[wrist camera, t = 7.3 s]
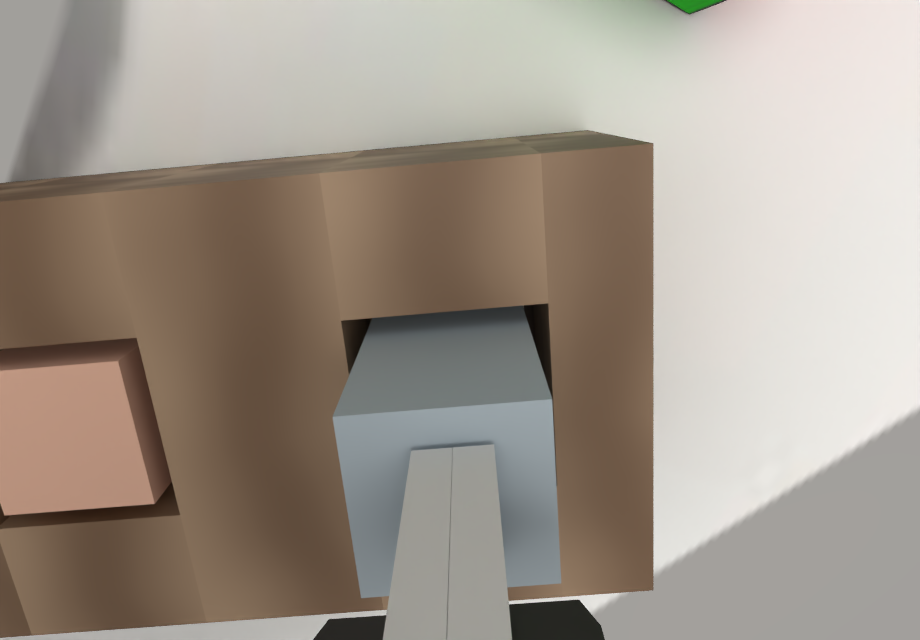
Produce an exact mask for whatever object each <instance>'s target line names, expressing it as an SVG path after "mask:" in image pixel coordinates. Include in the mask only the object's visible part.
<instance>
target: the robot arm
mask: <svg viewBox="0 0 920 640" xmlns="http://www.w3.org/2000/svg"><path fill="white" fill-rule="evenodd" d="M313 640H605V639H604V635H603V632H602V628H601V625H600V624H599V623H598V622H597V621H596V619H595V618H594V617H593V616H592V615H591V613H590V612H589V611H588V610H587V609H586V608H585V606H584V605H583V604H582V603H581V602H580V600H568V601H553V602H539V603H524V604H510V605H509V601H508V590H507V579H506V568H505V557H504V546H503V536H502V525H501V514H500V503H499V492H498V481H497V470H496V460H495V449H494V444H492V445H479V446H466V447H453V449H452V448H439V449H426V450H413V451H411V455H410V461H409V468H408V475H407V481H406V488H405V495H404V501H403V508H402V515H401V521H400V528H399V535H398V541H397V548H396V555H395V561H394V568H393V575H392V581H391V588H390V595H389V601H388V608H387V615H385V616H370V617H356V618H341V619H329V620H328V621H327V623H326V624H325V625H324V626H323V628H322V629H321V630H320V632H319V633H318V634H317V635H316V637H315V638H314V639H313Z"/></svg>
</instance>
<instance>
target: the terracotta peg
mask: <svg viewBox="0 0 920 640" xmlns="http://www.w3.org/2000/svg"><path fill="white" fill-rule="evenodd" d="M171 482H172V480H171V476H170V472H169V468H168V463H167V459H166V455H165V451H164V447H163V443H162V439H161V435H160V431H159V427H158V423H157V419H156V415H155V411H154V406H153V402H152V398H151V394H150V390H149V386H148V382H147V378H146V374H145V370H144V366H143V362H142V358H141V354H140V349H139V345H138V341H137V338H127V339H115V340H103V341H91V342H79V343H67V344H55V345H43V346H32V347H20V348H8V349H3V350H1V351H0V504H1V507H2V510H3V513H4V515H17V514H30V513H43V512H56V511H69V510H82V509H95V508H108V507H121V506H134V505H147V504H155V503H156V502H157V500H158V499H159V498H160V496H161V495H162V494H163V492H164V491H165V490H166V488H167V487H168V486H169V484H170V483H171Z"/></svg>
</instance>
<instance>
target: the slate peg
mask: <svg viewBox="0 0 920 640" xmlns="http://www.w3.org/2000/svg"><path fill="white" fill-rule="evenodd" d="M333 423H334V430H335V436H336V442H337V449H338V455H339V461H340V467H341V474H342V480H343V486H344V493H345V499H346V505H347V512H348V518H349V524H350V531H351V537H352V543H353V549H354V556H355V562H356V568H357V575H358V581H359V587H360V594H361V598H369V597H383V596H389V595H390V588H391V581H392V575H393V568H394V561H395V555H396V548H397V541H398V535H399V528H400V521H401V515H402V508H403V501H404V495H405V488H406V481H407V475H408V468H409V461H410V455H411V451H413V450H426V449H439V448H452V449H453V447H466V446H479V445H492V444H494V449H495V460H496V470H497V481H498V492H499V503H500V514H501V525H502V536H503V546H504V557H505V568H506V579H507V587H519V586H533V585H547V584H560V583H561V567H560V547H559V527H558V507H557V486H556V466H555V446H554V426H553V406H552V397H551V394H550V391H549V388H548V384H547V381H546V378H545V375H544V372H543V369H542V366H541V362H540V359H539V356H538V353H537V350H536V347H535V343H534V340H533V337H532V334H531V331H530V328H529V324H528V321H527V318H526V315H525V312H524V309H523V306H510V307H498V308H486V309H474V310H462V311H450V312H438V313H426V314H414V315H402V316H390V317H378V318H372V320H371V323H370V325H369V328H368V330H367V333H366V335H365V338H364V340H363V343H362V345H361V348H360V350H359V353H358V355H357V357H356V360H355V362H354V365H353V367H352V370H351V372H350V375H349V377H348V380H347V382H346V385H345V387H344V390H343V392H342V395H341V397H340V399H339V402H338V404H337V407H336V409H335V412H334V414H333Z"/></svg>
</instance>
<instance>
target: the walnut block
mask: <svg viewBox="0 0 920 640" xmlns="http://www.w3.org/2000/svg"><path fill="white" fill-rule="evenodd" d="M522 305H524V312H525V315H526V318H527V321H528V324H529V328H530V331H531V334H532V337H533V340H534V343H535V347H536V350H537V353H538V356H539V359H540V362H541V366H542V369H543V372H544V375H545V378H546V381H547V384H548V388H549V391H550V394H551V397H552V406H553V426H554V446H555V466H556V486H557V507H558V527H559V547H560V567H561V583H560V584H547V585H533V586H519V587H507V590H508V601H511V600H525V599H539V598H552V597H566V596H580V595H594V594H607V593H621V592H635V591H649V590H653V143H649V142H644V141H639V140H633V139H628V138H623V137H618V136H613V135H608V134H603V133H598V132H593V131H588V130H587V131H576V132H564V133H553V134H542V135H531V136H520V137H509V138H498V139H486V140H475V141H464V142H453V143H442V144H431V145H420V146H409V147H397V148H386V149H375V150H364V151H353V152H342V153H331V154H319V155H308V156H297V157H286V158H275V159H264V160H253V161H241V162H230V163H219V164H208V165H197V166H186V167H175V168H163V169H152V170H141V171H130V172H119V173H108V174H97V175H86V176H74V177H63V178H52V179H41V180H30V181H19V182H8V183H0V351H1V350H3V349H8V348H20V347H32V346H43V345H55V344H67V343H79V342H91V341H103V340H115V339H127V338H137V341H138V345H139V349H140V354H141V358H142V362H143V366H144V370H145V374H146V378H147V382H148V386H149V390H150V394H151V398H152V402H153V406H154V411H155V415H156V419H157V423H158V427H159V431H160V435H161V439H162V443H163V447H164V451H165V455H166V459H167V463H168V468H169V472H170V476H171V480H172V482H171V483H170V484H169V486H168V487H167V488H166V490H165V491H164V492H163V494H162V495H161V496H160V498H159V499H158V500H157V502H156V503H155V504H147V505H134V506H121V507H108V508H95V509H82V510H69V511H56V512H43V513H30V514H17V515H4V513H3V510H2V507H1V504H0V638H3V637H17V636H30V635H44V634H58V633H72V632H85V631H99V630H113V629H127V628H140V627H154V626H168V625H181V624H195V623H209V622H223V621H236V620H250V619H264V618H278V617H291V616H305V615H319V614H333V613H346V612H360V611H374V610H387V608H388V601H389V596H383V597H369V598H361V594H360V587H359V581H358V575H357V568H356V562H355V556H354V549H353V543H352V537H351V531H350V524H349V518H348V512H347V505H346V499H345V493H344V486H343V480H342V474H341V467H340V461H339V455H338V449H337V442H336V436H335V430H334V423H333V414H334V412H335V409H336V407H337V404H338V402H339V399H340V397H341V395H342V392H343V390H344V387H345V385H346V382H347V380H348V377H349V375H350V372H351V370H352V367H353V365H354V362H355V360H356V357H357V355H358V353H359V350H360V348H361V345H362V343H363V340H364V338H365V335H366V333H367V330H368V328H369V325H370V323H371V320H372V318H378V317H390V316H402V315H414V314H426V313H438V312H450V311H462V310H474V309H486V308H498V307H510V306H522Z"/></svg>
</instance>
